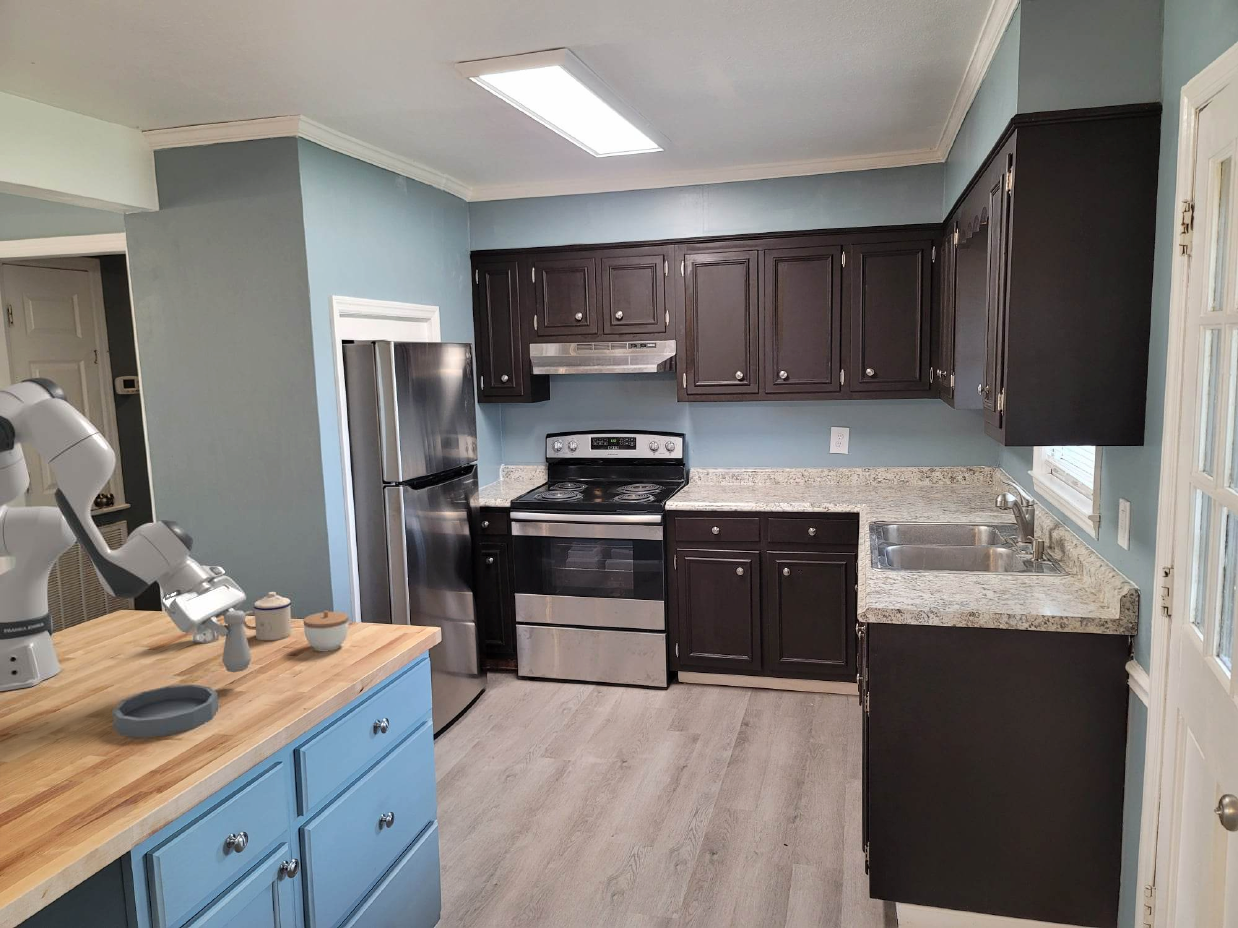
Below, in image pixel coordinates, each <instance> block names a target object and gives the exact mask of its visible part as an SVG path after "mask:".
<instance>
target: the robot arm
mask: <svg viewBox="0 0 1238 928" xmlns="http://www.w3.org/2000/svg"><path fill="white" fill-rule="evenodd" d="M21 444H27V445H30V446H31V447H32V448H34V449H35V450H36V451H37V452H38V454H39V455H40V457H41V458H42V459H43V460H44V462H46V464H47V465H48V466H49V467H50V469H52V471H53V473H54V475H55V478H56V481H57V488H56V490H55V492H54V499H55V502H56V504H57V506H58V507H57V506H48V505H47V506H46V505H45V506H44V505H42V506H41V505H40V506H39V505H37V506H21V507H17V506H16V507H13V506H7V504H9V503H11V502H13V501H15V500H17V499H19V498H20V497H21V496H23V494H25V493H26V491H27V490H28V488H29V487H30V486H29V485H30V482H31V481H30V479H31V478H30V477H29V476H30V475H29V471H28V467H27V464H26V463H27V462H26V459H25V456H24V451H23V448H22V445H21ZM115 467H116V454H115V452H114V449H113V448H112V447H111V445H110V444H109V442H108V441H107V440H106V438H105V437H104V436H103V435H102V433H100V431H99V430H98V429H97V428H96V427H95V425H93V424H92V422H90V421H89V420H88V418H86V417H85V416H84V415H83V414H82V413H81V412H80V411H78V410H77V408H75V407H74V406H72V405H71V404H70V403H69V400H68V398H67V396H66V394H65V392H64V391H63V389H62V388H61V387H60V386H59V385H58V384H57V383H55V382H54V381H53V380H51V379H48V378H46V377H32V378H27V379H23V380H22V381H20V382H18V383H15V384H11V385H8V386H4V387H2V388H0V558H7V557H14V558H15V559H14V560H15V562H14V563H15V564H14V567H12V568H10V569H9V570H6V571H4V572H2V573H1V574H0V692H4V691H11V690H18V689H23V688H30V687H34V686H36V685H38V684H40V683H41V682H42V681H45V680H46V679H49V678H52V677H54V676H56V675H57V674H59V673H60V672H61V671H62V667H61V666H62V665H60V662H59V660H58V657H57V654H56V651H55V646H54V642H53V638H52V635H53V627H54V626H53V618H52V613H51V611H50V610H49V603H48V602H49V601H48V584H49V583H48V581H49V576H50V574H51V570H52V568H53V566H54V565H55V563H56V562H57V560H58V559H59V558H60V557H62V555H63V554H64V553H65V552H67V551H68V550H70V549H71V548H72V547H73V546H74V544H75V543H76V542H77V541H78V543H79V544H80V546H81V548H82V550H83V551H84V553H85V555H86V556H87V558H88V559H89V561H90V562H91V563H90V564H92V566H93V568H94V570H95V573H96V576H97V577H98V580H99V583H100V584H101V586H102V587H103V589H104V590H105V591H106V592H107V593H108V594H110V595H111V596H112V597H114V598H116V599H135V598H137V597H138V596H140V595H141V594H142V593H143V592H144V591H146V589H148V588H149V587H150V585H152V584H153V583H154V582H157V583H158V585H159V587H160V589H161V590H162V591H163V592H164V593H165V594H166V595H163V596H162V600H161V605H162V607H163V608H164V609H165V611H166V613H167V616H168V617H169V619H170V620H171V621H172V622H173V624H174V625H175V626H176V627H177V628H178V629H179V631H180V632H182V633H185V634H189V633H191V632H192V631H193V632H194V630H195V629H197V628H199V627H201V626H203V625H206V627H207V628H209V629H211V630H213V631H216V632H218V635H219V636H221V637H222V638H223V637H226V635H227V634H228V633H229V632H230V628H228V626H227V625H228V624H222V623H220V622H219V621H218V619H219V618H220V617H224V615H225V614H226V613H227V612H230V611H235V610H237V609H239V608H240V606H241V605H243V604H244V603H245V601H246V600H247V596H246V593H245V592H244V590H243V589H242V588H241V587H240V586H239V585H238V584H237V583H236V582H235V581H234V580H233V579H232V578H231V577H229V576H228V575H225V573H226V572H225V570H224V569H223V567H221V566H215V565H214V566H212V565H211V566H209V565H201V564H200V563H199V562H198V561H196V560H195V559H193V558H192V557H190V556H189V555H190V554H191V552H192V548H193V544H194V539H193V537H191V535H190V534H188V533H187V532H186V531H185V530H184V529H183V528H182V526H180V524H179V523H178V521H174V520H165V519H164V520H160V521H156V522H155V523H154V522H147V523H144V524H142V525H140V526H138V527H136V528H135V529H134V530H133V531H132V532H131V533H130V534H129V535H128V536H127V538H126V540H125V544H124V545H121V547H119V548H117V549H114V550H113V549H110V547H109V546H108V544H107V542H106V541H105V539H104V537H103V535H102V534H101V532H100V530H99V529H98V526H96V524H95V522H94V520H93V518H92V515H91V511H92V510H91V509H92V506H93V504H94V501H95V499H96V497H98V495H99V494H100V492H101V491H102V490H103V488H104V487H105V485H106V484H107V482H108V481H109V480H110V478H111V477H112V475H113V473H114V470H115Z"/></svg>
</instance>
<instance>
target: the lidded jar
mask: <svg viewBox="0 0 1238 928" xmlns="http://www.w3.org/2000/svg"><path fill="white" fill-rule="evenodd" d="M349 619H350V618H349V614H347V613H345V612H341V611H328V610H324V611H322V612H319V613H318V612H317V613H313V614H309V615H308V616H306V617H305V618H303V627H304V628H303V629H304V635H305V639H306V641H307V643H308V644H309V645H310V646H311V647H312V648H313V649H314V651H316V650H319V651H318V652H329V651H328V650H332V651H335V650H338V649H339V648H340V647H341V646H342V644H343V643H344V642H345V641H346V638H347V636H348V632H349ZM334 649H335V650H334Z"/></svg>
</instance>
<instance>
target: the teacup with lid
mask: <svg viewBox="0 0 1238 928" xmlns="http://www.w3.org/2000/svg"><path fill="white" fill-rule="evenodd" d="M291 604H292V602H291V600H290V598H287V597H282V596H280V595H278V594H277V593H276V592H275V591H271V592H270V591H269V592H268V593H267V596H265V597H263V598H261V599H259V600H257V601H256V602H254V604H253V608H254V610H248V611H246V612H244V613H245V618H246V617H247V616H249V615H253V614H254V619H255V620H254V623H255V625H254V626H253V625H252V626H251V625H249V624H247V622H246V620H245V621H244V622H243V626H244V628H246V629H247V630H251V631H253V630H255V637H256V639H258V640H260V641H264V642H265V641H278V639H279V640H282V639H285V638H288V637H290V636H291V634H292V619H291V616H292V615H291Z"/></svg>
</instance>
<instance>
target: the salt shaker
mask: <svg viewBox="0 0 1238 928" xmlns="http://www.w3.org/2000/svg"><path fill="white" fill-rule="evenodd" d="M234 610H235V611H230V612H227V613H226V614H225V615H224V616H223V622H224V625H227V626H228V628H230V632H229V633H228V634H227V635H226V636H225V641H224V646H223V653H222V659H221V660H222V661H221V662H222V663H223V665H224V667H225V669H226V671H227V672H231V673H237V672H238V673H239V672H243V671H245V670H247V669H248V668H249V665H250V662H251V659H252V655H251V651H250V650H251V649H250V647H249V642H248V639H247V634H246V631H245V626H244V625H243V622H244V621H245V622H246V617H245V613H246V612H244V611H243V610H240V609H239V610H237V609H234Z"/></svg>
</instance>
